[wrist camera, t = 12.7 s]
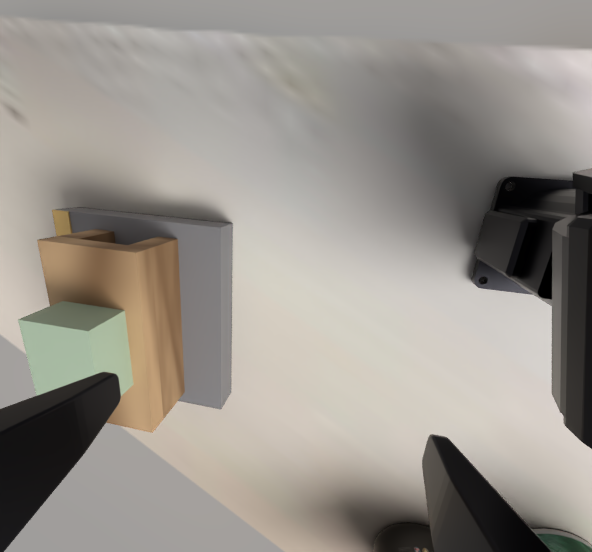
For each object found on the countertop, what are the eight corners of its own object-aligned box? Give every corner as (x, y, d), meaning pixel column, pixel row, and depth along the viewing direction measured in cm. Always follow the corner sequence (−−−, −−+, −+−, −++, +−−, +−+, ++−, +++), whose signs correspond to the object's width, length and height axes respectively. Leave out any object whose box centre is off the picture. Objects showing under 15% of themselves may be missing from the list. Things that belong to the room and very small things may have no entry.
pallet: (177, 239, 19) (136, 252, 16) (184, 391, 23) (152, 432, 19) (95, 229, 20) (37, 239, 16) (115, 378, 24) (71, 414, 20)
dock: (232, 223, 21) (219, 228, 19) (231, 392, 25) (220, 410, 23) (78, 207, 22) (52, 209, 20) (102, 367, 27) (82, 382, 25)
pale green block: (124, 310, 17) (88, 331, 15) (133, 384, 18) (101, 414, 16) (62, 300, 17) (18, 319, 15) (76, 373, 19) (37, 400, 17)
